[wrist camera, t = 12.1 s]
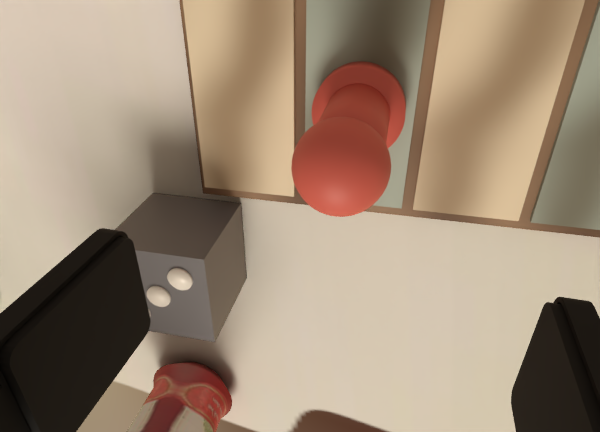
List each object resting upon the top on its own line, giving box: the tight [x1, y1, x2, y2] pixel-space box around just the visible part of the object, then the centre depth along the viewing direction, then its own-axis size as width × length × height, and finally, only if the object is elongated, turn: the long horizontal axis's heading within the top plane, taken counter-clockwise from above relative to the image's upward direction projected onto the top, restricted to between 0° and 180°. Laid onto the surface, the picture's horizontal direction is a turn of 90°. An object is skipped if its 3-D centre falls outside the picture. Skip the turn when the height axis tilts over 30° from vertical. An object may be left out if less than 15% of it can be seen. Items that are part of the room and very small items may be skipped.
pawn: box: [291, 61, 406, 217], centre depth 19 cm, size 4×4×9 cm
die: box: [115, 193, 247, 342], centre depth 28 cm, size 6×6×6 cm
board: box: [180, 0, 600, 237], centre depth 22 cm, size 30×12×1 cm, turn 90°
